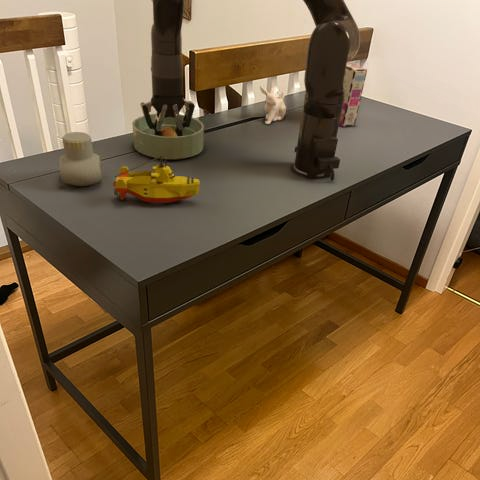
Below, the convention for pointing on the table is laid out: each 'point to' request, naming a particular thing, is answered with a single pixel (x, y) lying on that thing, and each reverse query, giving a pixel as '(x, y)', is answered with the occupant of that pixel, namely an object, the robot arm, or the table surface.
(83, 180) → the air freshener
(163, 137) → the bowl
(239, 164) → the table surface
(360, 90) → the candy bar box
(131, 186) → the toy boat
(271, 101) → the rabbit figurine
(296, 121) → the table surface
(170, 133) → the croissant
